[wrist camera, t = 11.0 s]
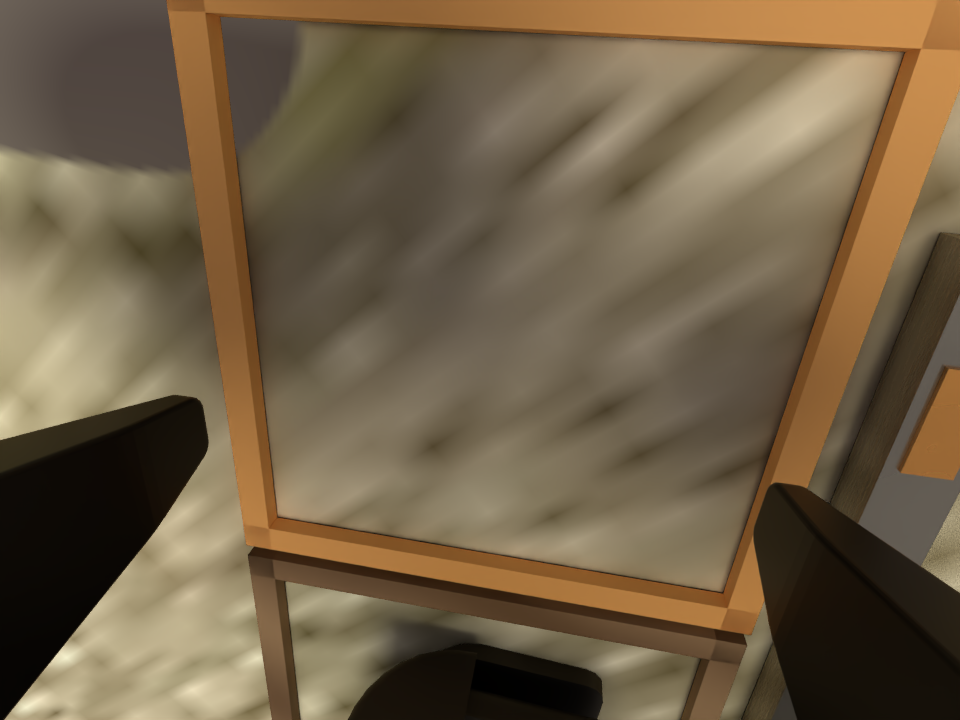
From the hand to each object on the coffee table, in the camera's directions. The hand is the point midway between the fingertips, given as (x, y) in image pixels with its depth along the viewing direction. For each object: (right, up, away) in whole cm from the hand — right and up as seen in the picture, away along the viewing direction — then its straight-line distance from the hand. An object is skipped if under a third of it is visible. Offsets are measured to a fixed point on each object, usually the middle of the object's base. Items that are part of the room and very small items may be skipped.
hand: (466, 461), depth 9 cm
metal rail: (+9, -6, +6) cm, 13 cm away
